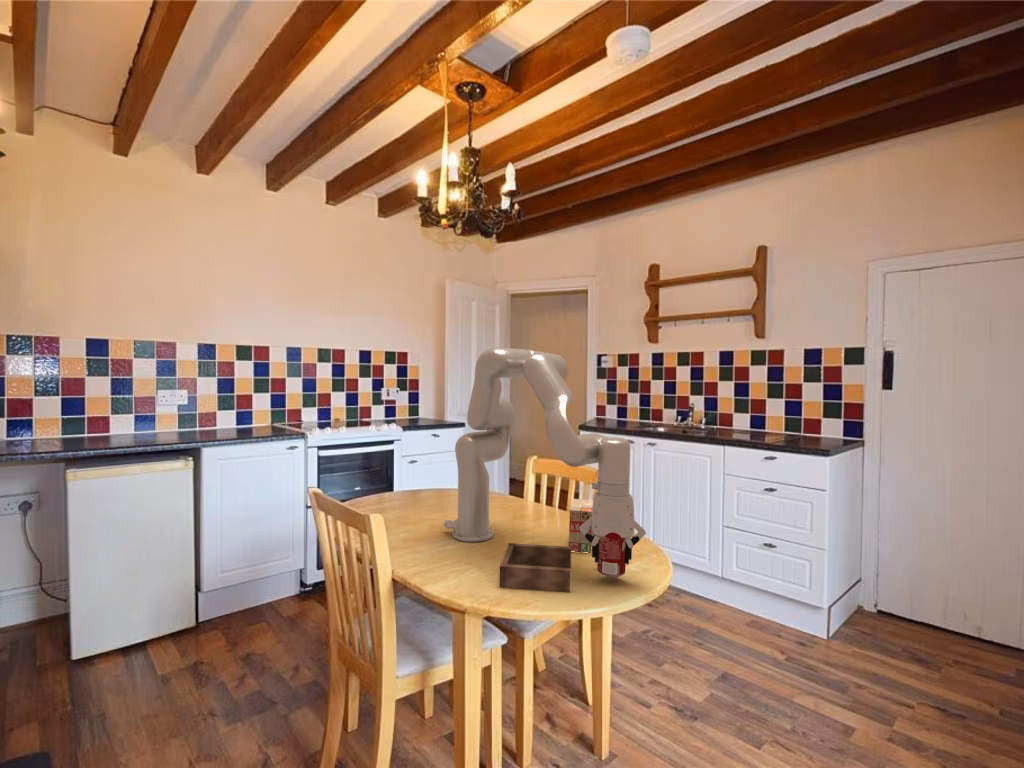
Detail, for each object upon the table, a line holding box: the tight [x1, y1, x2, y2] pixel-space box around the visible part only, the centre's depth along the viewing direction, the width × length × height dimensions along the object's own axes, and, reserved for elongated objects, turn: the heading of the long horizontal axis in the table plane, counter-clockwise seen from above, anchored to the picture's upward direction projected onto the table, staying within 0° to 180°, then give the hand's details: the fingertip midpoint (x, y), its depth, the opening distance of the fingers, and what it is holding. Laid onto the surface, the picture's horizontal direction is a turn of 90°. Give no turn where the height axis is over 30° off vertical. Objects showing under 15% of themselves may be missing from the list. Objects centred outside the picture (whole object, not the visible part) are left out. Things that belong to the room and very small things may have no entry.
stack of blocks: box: [568, 498, 594, 554], centre depth 155 cm, size 21×6×12 cm, turn 169°
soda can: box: [596, 529, 627, 579], centre depth 126 cm, size 7×7×12 cm
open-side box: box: [499, 542, 572, 593], centre depth 128 cm, size 16×16×5 cm
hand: (611, 560), depth 126 cm, fingers closed on soda can, 6 cm apart
